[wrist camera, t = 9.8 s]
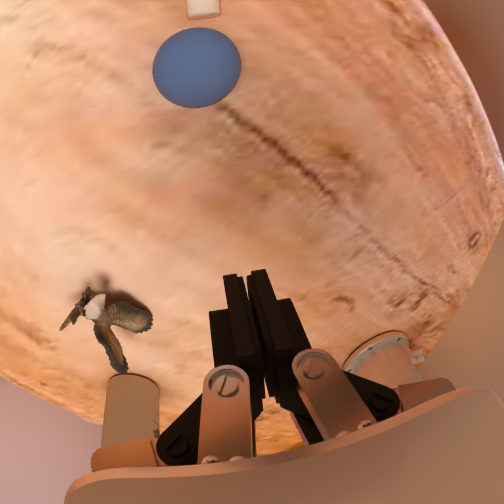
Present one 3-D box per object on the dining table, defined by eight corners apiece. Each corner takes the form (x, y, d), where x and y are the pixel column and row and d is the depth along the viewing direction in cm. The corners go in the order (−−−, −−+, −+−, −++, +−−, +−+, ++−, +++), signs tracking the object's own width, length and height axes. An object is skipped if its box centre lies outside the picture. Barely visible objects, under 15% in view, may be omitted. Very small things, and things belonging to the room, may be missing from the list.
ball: (243, 59, 13) (248, 116, 19) (232, 6, 14) (238, 61, 20) (136, 80, 13) (165, 131, 19) (145, 24, 14) (166, 74, 20)
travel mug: (107, 393, 38) (99, 496, 23) (110, 367, 34) (98, 488, 19) (154, 403, 40) (157, 505, 25) (164, 379, 37) (168, 498, 22)
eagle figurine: (65, 321, 28) (125, 365, 31) (52, 336, 21) (127, 390, 24) (100, 270, 30) (160, 317, 33) (94, 273, 23) (169, 332, 26)
